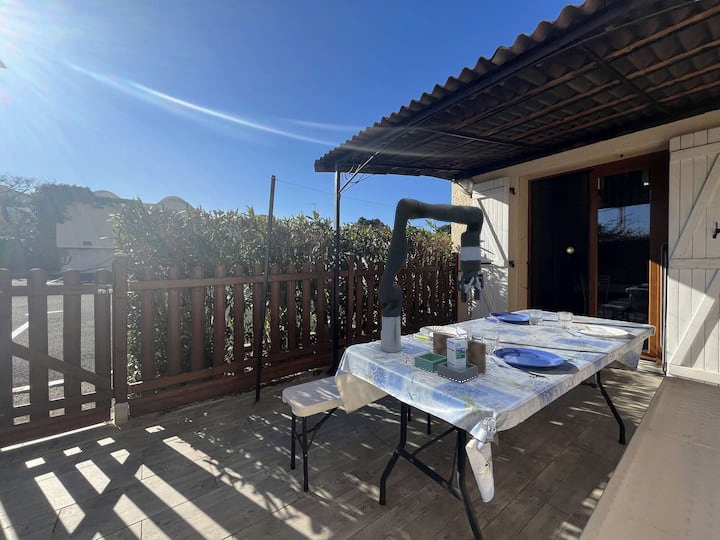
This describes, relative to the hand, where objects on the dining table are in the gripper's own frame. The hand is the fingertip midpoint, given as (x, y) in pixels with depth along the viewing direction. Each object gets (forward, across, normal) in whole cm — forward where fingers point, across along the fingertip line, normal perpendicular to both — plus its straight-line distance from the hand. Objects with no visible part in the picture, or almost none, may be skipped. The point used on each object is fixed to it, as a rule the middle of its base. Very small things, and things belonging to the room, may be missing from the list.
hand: (470, 301), depth 119 cm
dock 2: (+29, +3, -4) cm, 30 cm away
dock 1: (+29, +3, -17) cm, 34 cm away
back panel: (+29, -6, -10) cm, 32 cm away
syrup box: (+30, +3, -4) cm, 30 cm away
